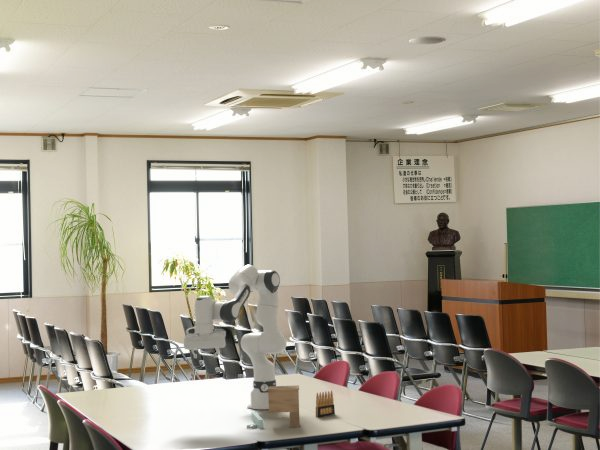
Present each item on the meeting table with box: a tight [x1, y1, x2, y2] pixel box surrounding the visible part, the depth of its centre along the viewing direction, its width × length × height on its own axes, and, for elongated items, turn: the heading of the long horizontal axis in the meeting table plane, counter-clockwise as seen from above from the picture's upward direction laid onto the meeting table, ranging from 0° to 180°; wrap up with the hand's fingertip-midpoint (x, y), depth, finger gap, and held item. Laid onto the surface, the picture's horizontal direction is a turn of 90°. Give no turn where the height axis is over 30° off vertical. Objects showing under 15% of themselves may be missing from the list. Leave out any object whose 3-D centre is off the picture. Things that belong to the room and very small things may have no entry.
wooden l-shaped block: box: [268, 385, 301, 428], centre depth 419 cm, size 7×15×18 cm, turn 91°
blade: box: [251, 411, 265, 429], centre depth 426 cm, size 22×2×4 cm, turn 12°
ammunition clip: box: [315, 390, 336, 419], centre depth 440 cm, size 11×2×12 cm, turn 127°
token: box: [246, 424, 259, 429], centre depth 417 cm, size 5×5×1 cm
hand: (205, 357), depth 435 cm, fingers open, 8 cm apart
